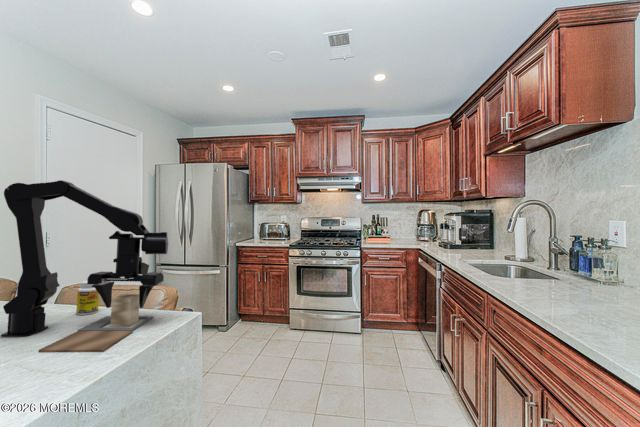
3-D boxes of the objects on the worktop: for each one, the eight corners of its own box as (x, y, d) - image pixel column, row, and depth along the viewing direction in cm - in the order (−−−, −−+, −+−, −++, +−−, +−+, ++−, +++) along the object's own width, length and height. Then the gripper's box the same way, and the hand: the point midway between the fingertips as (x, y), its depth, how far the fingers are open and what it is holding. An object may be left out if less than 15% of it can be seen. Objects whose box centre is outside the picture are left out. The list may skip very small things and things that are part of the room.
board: (38, 352, 66) (38, 350, 66) (78, 333, 78) (78, 330, 78) (103, 352, 67) (103, 349, 67) (132, 333, 79) (132, 330, 79)
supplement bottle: (74, 316, 90) (76, 283, 91) (77, 312, 95) (79, 280, 96) (97, 314, 94) (99, 282, 94) (98, 309, 98) (100, 279, 99)
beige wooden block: (110, 326, 83) (112, 298, 83) (120, 321, 88) (122, 294, 88) (128, 326, 83) (130, 298, 83) (138, 321, 88) (139, 294, 88)
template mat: (77, 332, 78) (77, 330, 78) (106, 318, 90) (106, 316, 90) (131, 332, 79) (132, 330, 79) (153, 318, 91) (153, 316, 91)
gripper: (172, 252, 95) (169, 300, 94) (112, 251, 93) (109, 300, 93) (155, 256, 84) (153, 311, 83) (87, 254, 82) (84, 310, 82)
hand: (125, 307), depth 85 cm, fingers open, 9 cm apart
